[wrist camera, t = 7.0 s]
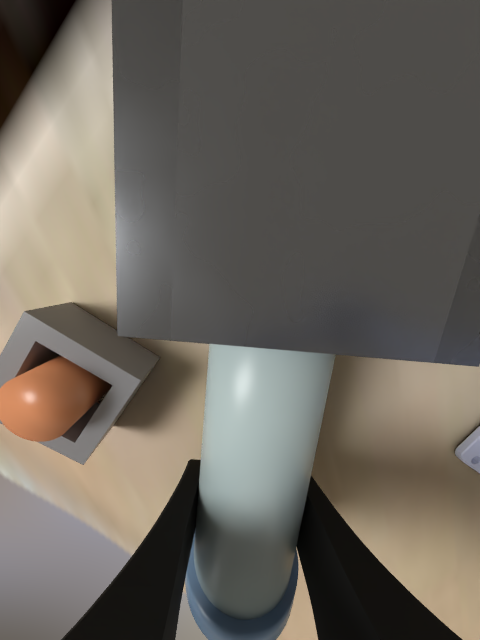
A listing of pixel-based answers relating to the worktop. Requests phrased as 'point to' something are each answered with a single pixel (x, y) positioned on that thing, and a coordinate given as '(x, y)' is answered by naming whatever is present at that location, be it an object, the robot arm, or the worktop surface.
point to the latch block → (87, 352)
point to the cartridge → (253, 487)
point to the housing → (299, 175)
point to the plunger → (49, 399)
